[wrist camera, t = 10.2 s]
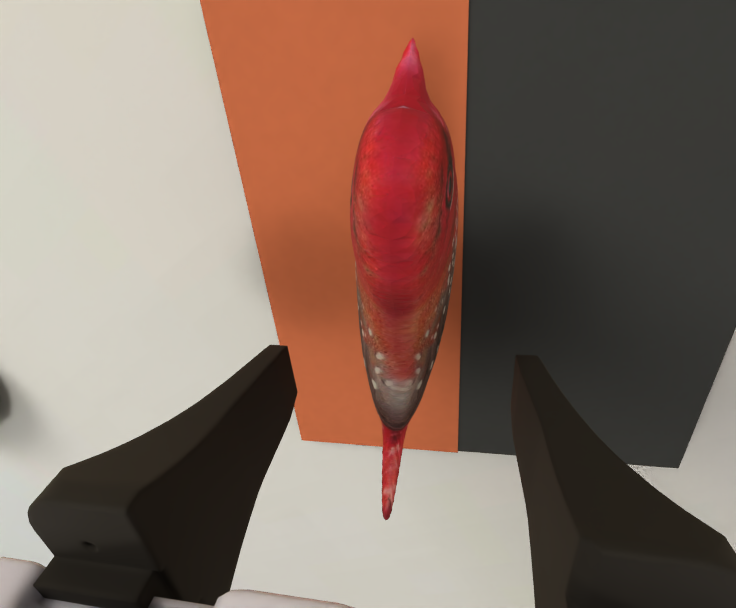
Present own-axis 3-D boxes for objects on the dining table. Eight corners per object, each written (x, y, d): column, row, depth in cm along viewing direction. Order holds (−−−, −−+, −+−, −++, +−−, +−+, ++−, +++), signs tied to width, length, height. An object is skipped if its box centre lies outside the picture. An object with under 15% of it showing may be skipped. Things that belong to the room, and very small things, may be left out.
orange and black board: (895, -96, 12) (914, -101, 12) (674, 460, 24) (679, 470, 23) (205, -11, 16) (197, -12, 15) (304, 432, 27) (301, 440, 27)
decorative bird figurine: (479, 27, 15) (502, 48, 6) (429, 418, 24) (411, 630, 16) (389, 25, 15) (300, 41, 7) (375, 410, 25) (330, 613, 16)
